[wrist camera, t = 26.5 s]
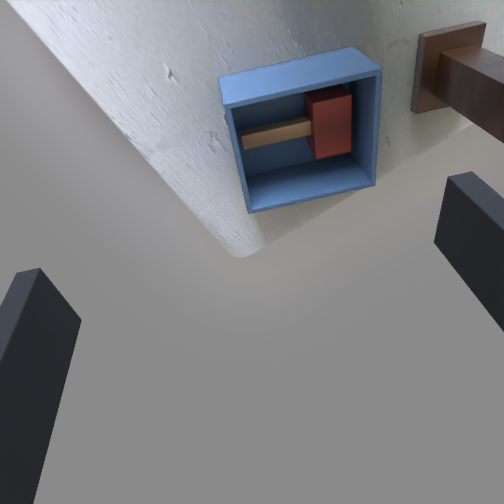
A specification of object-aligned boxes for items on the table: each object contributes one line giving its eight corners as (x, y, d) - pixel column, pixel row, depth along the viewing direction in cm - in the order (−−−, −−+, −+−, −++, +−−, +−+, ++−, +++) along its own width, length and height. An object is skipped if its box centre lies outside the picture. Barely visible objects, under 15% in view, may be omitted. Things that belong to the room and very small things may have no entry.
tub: (217, 77, 43) (223, 104, 36) (352, 46, 43) (382, 67, 36) (240, 178, 52) (248, 214, 46) (351, 153, 52) (375, 185, 45)
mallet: (234, 105, 45) (237, 120, 41) (339, 81, 44) (352, 94, 41) (244, 157, 49) (248, 174, 46) (340, 136, 49) (351, 151, 46)
